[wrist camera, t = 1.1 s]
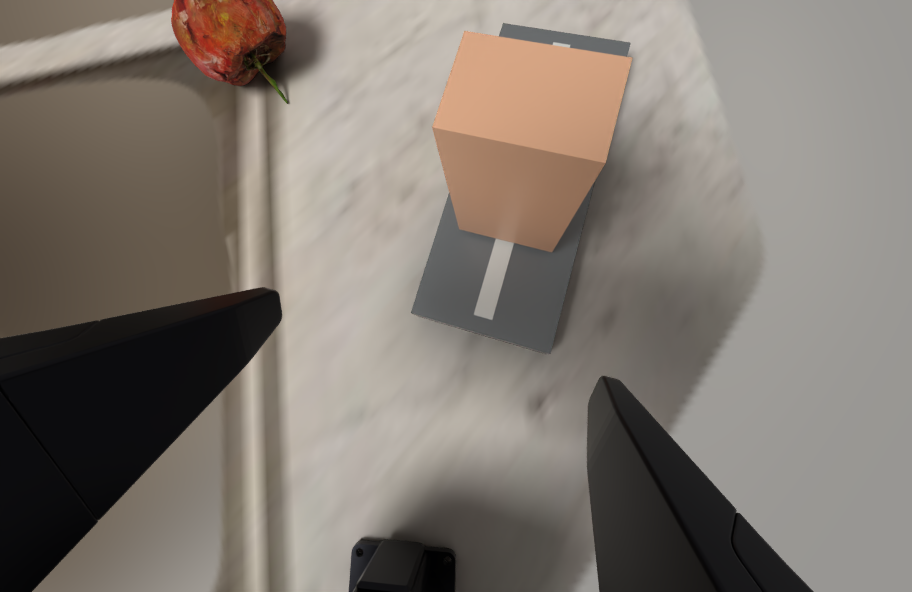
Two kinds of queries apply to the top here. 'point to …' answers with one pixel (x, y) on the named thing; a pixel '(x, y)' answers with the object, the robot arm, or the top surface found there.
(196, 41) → the pomegranate
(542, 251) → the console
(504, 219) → the fader knob
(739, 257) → the top surface
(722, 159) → the top surface
